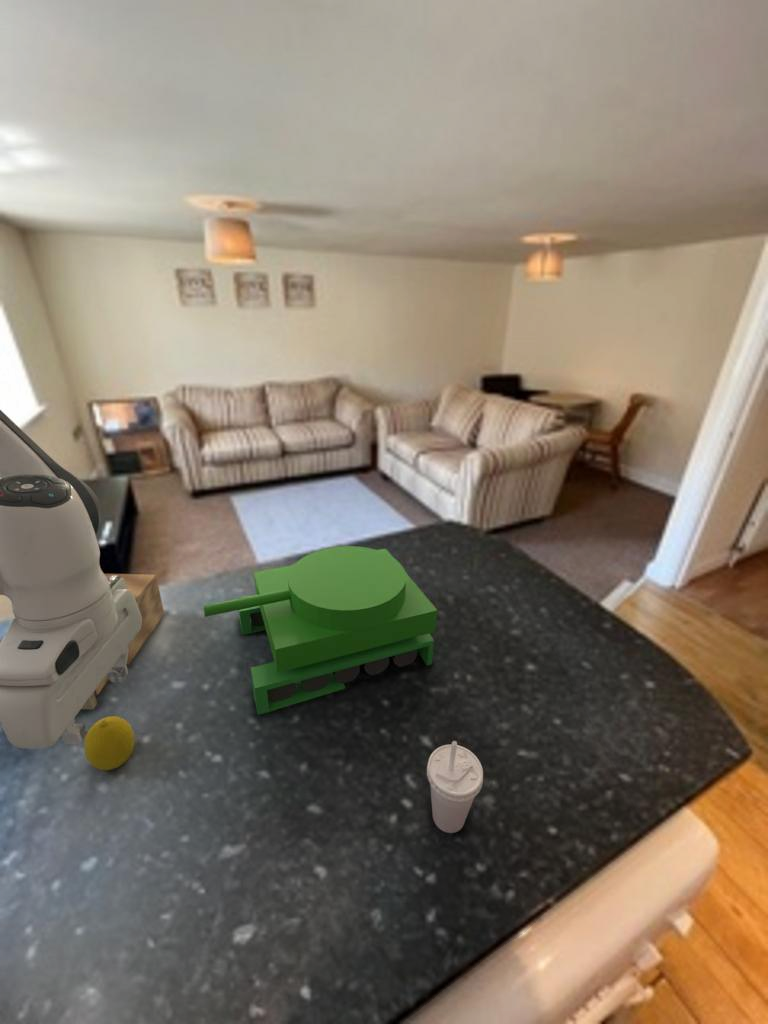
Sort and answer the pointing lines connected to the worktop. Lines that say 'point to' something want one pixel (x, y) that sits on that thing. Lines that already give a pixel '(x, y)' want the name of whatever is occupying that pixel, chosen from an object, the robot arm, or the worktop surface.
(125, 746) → the lemon
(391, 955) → the worktop surface
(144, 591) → the cabinet
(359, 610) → the tank
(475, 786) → the smoothie
